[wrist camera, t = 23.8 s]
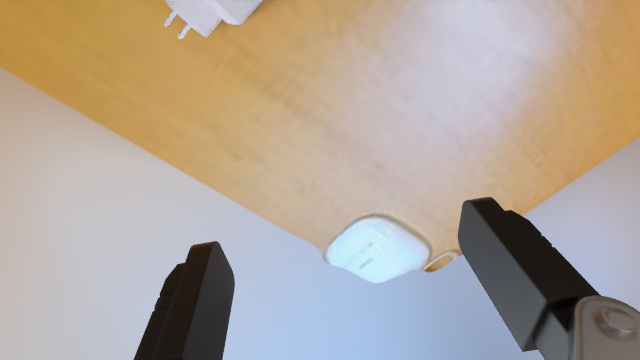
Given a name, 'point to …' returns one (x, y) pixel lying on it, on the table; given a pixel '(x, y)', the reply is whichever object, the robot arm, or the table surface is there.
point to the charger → (210, 13)
